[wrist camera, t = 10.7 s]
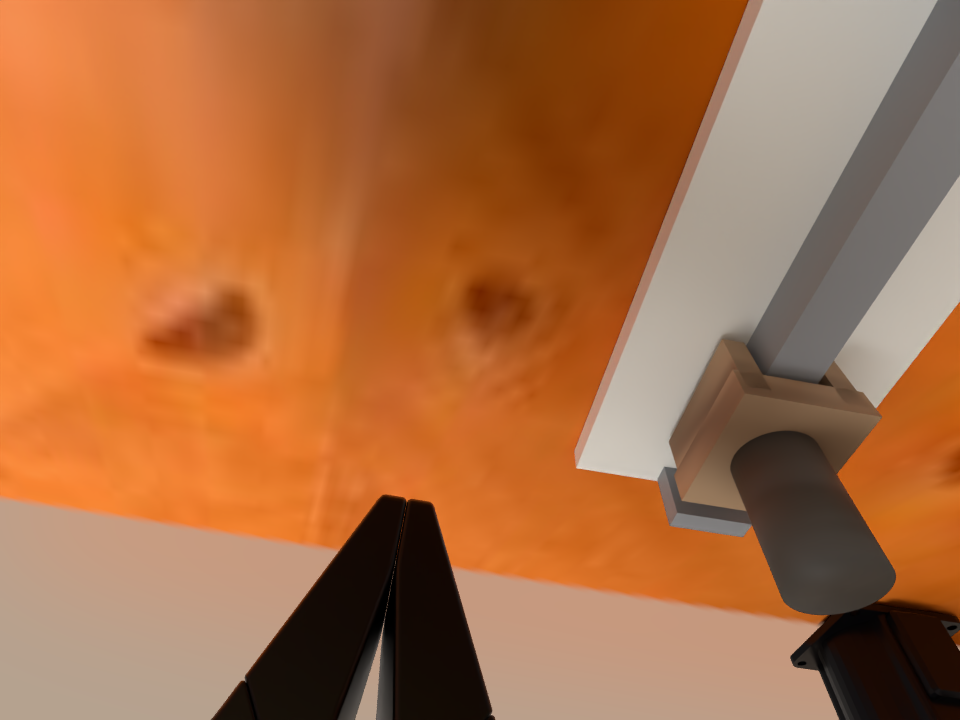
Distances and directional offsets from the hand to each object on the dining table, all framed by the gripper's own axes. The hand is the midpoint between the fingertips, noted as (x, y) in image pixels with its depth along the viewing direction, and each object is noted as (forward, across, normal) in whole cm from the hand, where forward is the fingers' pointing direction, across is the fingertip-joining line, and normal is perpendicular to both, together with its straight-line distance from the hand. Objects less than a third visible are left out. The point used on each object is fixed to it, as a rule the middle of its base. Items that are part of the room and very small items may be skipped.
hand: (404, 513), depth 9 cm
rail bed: (+12, -12, -2) cm, 17 cm away
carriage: (+11, -12, +4) cm, 16 cm away
